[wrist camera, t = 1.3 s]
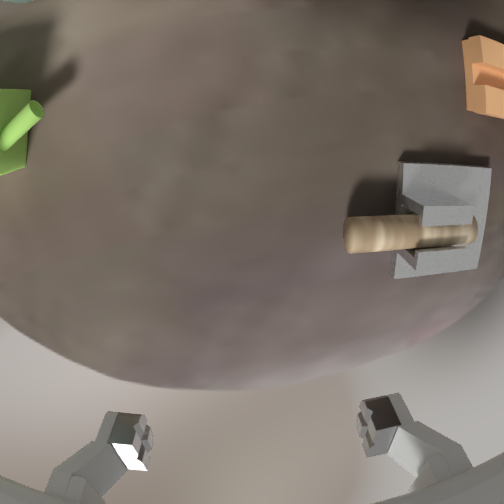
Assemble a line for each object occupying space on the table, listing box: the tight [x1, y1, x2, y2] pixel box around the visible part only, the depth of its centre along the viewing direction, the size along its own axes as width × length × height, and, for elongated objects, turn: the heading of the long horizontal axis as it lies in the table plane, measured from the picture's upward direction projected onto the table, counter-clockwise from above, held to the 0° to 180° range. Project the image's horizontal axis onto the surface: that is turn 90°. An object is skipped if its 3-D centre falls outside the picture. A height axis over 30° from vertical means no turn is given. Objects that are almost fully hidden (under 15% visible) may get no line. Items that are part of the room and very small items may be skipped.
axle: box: [343, 214, 478, 253], centre depth 28 cm, size 14×3×3 cm, turn 94°
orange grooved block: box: [462, 35, 504, 119], centre depth 23 cm, size 8×10×4 cm
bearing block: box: [389, 161, 492, 279], centre depth 28 cm, size 12×12×6 cm
